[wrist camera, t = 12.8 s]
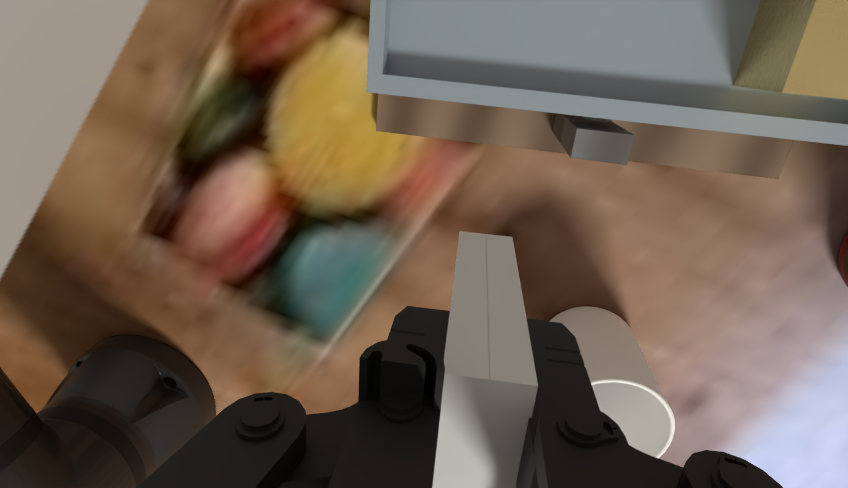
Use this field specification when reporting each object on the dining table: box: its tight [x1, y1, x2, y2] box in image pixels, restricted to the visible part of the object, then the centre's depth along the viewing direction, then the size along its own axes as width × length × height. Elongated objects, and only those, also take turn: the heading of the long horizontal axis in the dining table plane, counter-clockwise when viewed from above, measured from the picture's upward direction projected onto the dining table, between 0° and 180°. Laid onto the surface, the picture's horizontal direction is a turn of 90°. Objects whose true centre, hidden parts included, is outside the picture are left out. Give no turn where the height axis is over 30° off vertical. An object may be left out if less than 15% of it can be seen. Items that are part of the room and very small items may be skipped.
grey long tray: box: [367, 0, 848, 146], centre depth 26 cm, size 26×9×6 cm, turn 85°
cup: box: [549, 306, 675, 458], centre depth 37 cm, size 8×12×10 cm
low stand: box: [376, 94, 793, 179], centre depth 28 cm, size 29×16×10 cm, turn 85°
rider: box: [733, 0, 848, 99], centre depth 21 cm, size 4×4×4 cm
